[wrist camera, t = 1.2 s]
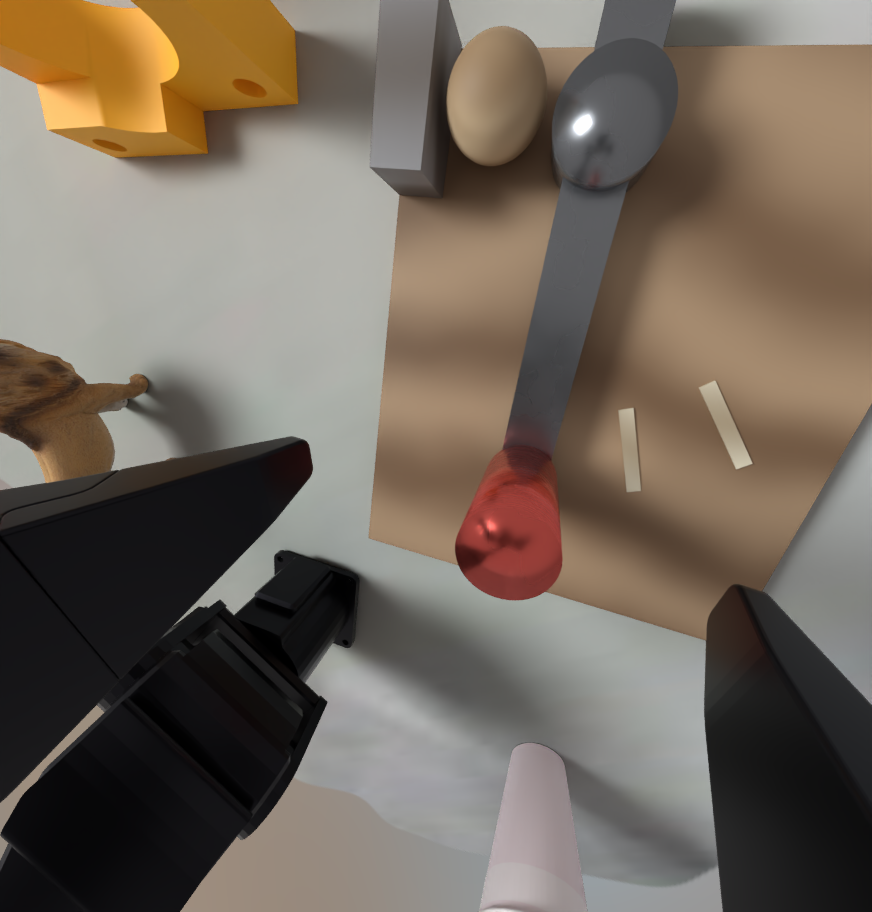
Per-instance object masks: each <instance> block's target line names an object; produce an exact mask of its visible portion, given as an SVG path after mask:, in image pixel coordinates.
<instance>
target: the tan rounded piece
mask: <svg viewBox="0 0 872 912" xmlns="http://www.w3.org/2000/svg"><path fill="white" fill-rule="evenodd" d="M546 101H547V76H546V70H545V66H544V62H543V59H542V57H541V54H540V52H539V50H538V48H537V47H536V46H535V44H534V43H533V41H532V40H531V39H530V38H529V37H528V36H527V35H526V34H524V33H523V32H521V31H519V30H517V29H515V28H511V27H507V26H498V27H493V28H489V29H487V30H485V31H483V32H481V33H480V34H478V35H477V36H475V37H474V38H473V39H472V40H471V41H470V42H469V43H468V44H467V45H466V46H465V48H464V49H463V50H462V52H461V53H460V55H459V56H458V58H457V60H456V62H455V64H454V67H453V69H452V72H451V75H450V78H449V82H448V87H447V94H446V114H447V121H448V125H449V129H450V132H451V135H452V137H453V140H454V141H455V143H456V145H457V147H458V148H459V149H460V151H461V152H462V153H463V154H464V155H465V156H466V157H467V158H469V159H470V160H471V161H473V162H475V163H477V164H480V165H484V166H498V165H502V164H505V163H507V162H509V161H512V160H513V159H515V158H516V157H517V156H519V155H520V154H521V153H522V152H523V151H524V150H525V149H526V148H527V147H528V145H529V144H530V143H531V141H532V140H533V138H534V137H535V135H536V133H537V131H538V129H539V127H540V124H541V121H542V119H543V116H544V112H545V108H546Z"/></svg>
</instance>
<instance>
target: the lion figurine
mask: <svg viewBox="0 0 872 912" xmlns="http://www.w3.org/2000/svg"><path fill="white" fill-rule="evenodd" d="M147 387H148V381H147V379H146V378H145V377H144V376H143V375H140V374H134V375H133V376H131V377H130V383H129V384H126V385H125V384H112V383H98V384H86V382H85V380H84V379H83V378H81V377H80V376H79V375H78V374H77V373H76V372H75V370H74V368H73V366H72V365H71V364H70V363H67V362H65V361H63V360H62V359H61V358H60V357H58V356H53V355H49V354H46V353H41V352H37V351H36V350H34V349H32V348H29V347H26V346H24V345H22V344H20V343H17V342H13V341H10V340H3V339H0V432H1V433H4V434H7V435H8V436H10V437H11V438H14V439H16V440H19V441H21V442H23V443H24V444H26V445H27V446H28V447H29V448H30V449H32V451H33V453H34V454H35V456H36V458H37V460H38V462H39V464H40V466H41V469H42V471H43V474H44V477H45V482H46V483H49V482H55V481H61V480H67V479H72V478H78V477H83V476H88V475H94V474H99V473H104V472H109V471H111V468H112V465H113V462H114V456H115V450H114V443H113V440H112V437H111V435H110V433H109V431H108V429H107V427H106V425H105V424H104V422H103V420H102V419H101V417H100V416H99V414H98V413H102V412H107V411H119V410H121V408H123V407H125V406H126V405H127V403H128V401H127V399H129V398H135V397H137V396H139V395H141V394H142V393H144V392H145V391H146V390H147ZM172 459H177V458H170V459H167V460H172ZM167 460H166V461H167Z"/></svg>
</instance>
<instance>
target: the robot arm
mask: <svg viewBox="0 0 872 912" xmlns="http://www.w3.org/2000/svg"><path fill="white" fill-rule="evenodd" d="M312 471H313V465H312V459H311V453H310V447H309V444H308V443H307V441H305V440H303V439H300V438H297V437H292V436H291V437H285V438H280V439H275V440H270V441H264V442H259V443H254V444H249V445H244V446H239V447H234V448H228V449H223V450H218V451H213V452H208V453H203V454H197V455H192V456H187V457H182V458H177V459H172V460H167V461H161V462H156V463H151V464H146V465H141V466H136V467H130V468H125V469H121V470H120V471H119V470H115V471H109V472H104V473H99V474H94V475H88V476H83V477H78V478H72V479H67V480H61V481H55V482H49V483H43V484H37V485H31V486H24V487H18V488H11V489H5V490H0V802H1V801H3V800H4V799H5V798H6V797H7V796H8V795H9V794H10V793H11V792H12V791H13V790H14V789H15V788H16V787H17V786H18V785H19V784H20V783H21V782H22V781H23V780H24V779H25V778H26V777H27V776H28V775H29V774H30V773H31V772H32V771H33V770H34V769H35V768H36V767H37V766H38V765H39V764H40V763H41V762H42V760H43V759H44V758H46V756H47V755H48V754H49V753H50V752H51V751H52V750H53V749H54V748H55V747H56V746H57V745H58V744H59V743H60V742H61V741H62V740H63V739H64V738H65V737H66V736H67V735H68V734H69V733H70V732H71V731H72V730H73V729H74V728H75V727H76V726H77V725H78V724H79V723H80V721H81V720H82V719H83V718H84V717H85V716H86V715H87V714H88V713H89V712H90V711H91V710H92V709H93V708H94V707H95V706H96V705H97V706H98V707H100V708H101V709H102V710H103V711H104V712H105V713H104V714H103V715H102V716H101V717H99V718H98V719H97V720H96V721H95V722H94V723H93V724H92V725H91V726H90V727H89V728H88V729H87V730H86V731H85V732H83V733H82V734H81V735H80V736H79V737H78V738H77V739H76V740H75V741H74V742H73V743H72V744H71V745H70V746H69V747H68V748H66V750H64V751H63V752H62V753H61V754H60V755H59V756H58V757H57V758H56V759H55V760H54V761H53V762H52V763H51V764H49V765H48V767H47V768H46V769H45V770H44V771H43V772H42V774H41V776H40V777H39V779H38V781H37V782H36V783H35V784H34V785H32V786H31V787H30V788H29V789H28V790H27V791H26V792H25V793H24V794H23V796H22V797H21V798H20V800H19V802H18V803H17V805H16V807H15V809H14V810H13V812H12V814H11V815H10V818H9V819H8V821H7V822H6V824H5V826H4V828H3V829H2V832H1V837H2V838H3V839H4V840H6V841H7V842H8V845H7V847H6V850H5V852H4V854H3V856H2V858H1V860H0V912H180V911H181V910H182V908H183V907H184V905H185V904H186V903H187V901H188V900H189V898H190V897H191V895H192V894H193V893H194V891H195V890H196V888H197V887H198V885H199V884H200V883H201V881H202V880H203V879H204V877H205V876H206V875H207V874H208V872H209V871H210V870H211V869H212V867H213V866H214V865H215V864H216V862H217V861H218V860H219V859H220V857H221V856H222V855H223V853H224V852H225V851H226V850H227V848H228V847H229V846H230V845H231V843H232V842H233V841H234V840H235V838H236V837H238V838H239V839H240V840H243V839H245V838H247V837H248V836H249V835H251V834H252V833H253V832H254V831H255V830H256V829H257V828H258V826H259V825H260V824H261V823H262V822H263V821H264V819H265V818H266V817H267V815H268V814H269V813H270V812H271V811H272V809H273V808H274V806H275V805H276V804H277V802H278V801H279V799H280V798H281V796H282V795H283V793H284V792H285V790H286V788H287V787H288V785H289V783H290V782H291V780H292V778H293V777H294V775H295V773H296V771H297V769H298V767H299V765H300V762H301V760H302V758H303V756H304V754H305V751H306V749H307V747H308V745H309V742H310V740H311V738H312V736H313V734H314V731H315V729H316V727H317V725H318V723H319V720H320V718H321V716H322V714H323V711H324V709H325V707H326V705H327V701H326V700H325V699H324V698H323V697H322V696H318V695H317V694H316V693H315V692H314V691H313V690H312V689H311V688H310V687H309V686H308V685H307V684H305V682H306V681H307V679H308V678H309V676H310V675H311V674H312V672H313V671H314V669H315V668H316V666H317V665H318V663H319V662H320V661H321V659H322V658H323V656H324V655H325V653H326V652H327V650H328V649H329V647H330V646H331V645H332V643H335V644H337V645H340V646H343V647H345V648H350V647H351V646H352V644H353V642H354V637H355V625H356V613H357V601H358V589H359V578H358V576H357V575H356V574H354V573H351V572H348V571H345V570H342V569H339V568H336V567H333V566H330V565H327V564H324V563H321V562H318V561H315V560H312V559H309V558H305V557H302V556H299V555H296V554H293V553H290V552H287V551H284V550H280V551H279V552H278V553H276V554H275V556H274V566H275V576H274V577H273V578H271V579H270V580H269V581H268V582H267V583H266V584H265V585H264V586H262V587H261V588H260V589H259V590H258V591H257V592H256V593H255V596H254V597H253V598H252V599H251V600H250V601H249V602H248V603H247V604H246V605H244V606H243V607H242V608H241V609H240V610H239V611H238V612H237V613H236V614H235V615H233V614H232V613H231V612H230V611H229V610H228V609H227V608H226V605H225V604H224V603H223V602H222V601H221V600H219V601H217V602H216V603H214V604H213V605H212V606H210V607H209V608H207V607H204V608H203V607H198V608H196V609H195V610H194V611H193V612H191V613H190V614H189V615H187V616H186V617H185V618H184V619H182V620H181V621H180V622H178V623H177V624H176V625H174V624H175V623H176V622H177V621H178V620H179V619H180V618H181V617H182V616H183V615H184V614H185V613H186V612H187V611H188V610H189V609H190V608H191V607H192V606H193V605H194V604H195V603H196V602H197V601H198V600H199V599H200V598H201V596H202V595H203V594H204V593H205V592H206V591H207V590H208V589H209V588H210V587H211V586H212V585H213V584H214V583H215V582H216V581H217V580H218V579H219V578H220V577H221V576H222V575H223V574H224V573H225V572H226V571H227V570H228V569H229V568H230V567H231V566H232V565H233V564H234V563H235V562H236V560H237V559H238V558H239V557H240V556H241V555H242V554H243V553H244V552H245V551H246V550H247V549H248V548H249V547H250V546H251V545H252V544H253V543H254V542H255V541H256V540H257V539H258V538H259V537H260V536H261V535H262V534H263V533H264V532H265V531H266V530H267V529H268V528H269V526H270V525H271V524H272V523H273V522H274V521H275V520H276V519H277V517H278V516H279V515H280V514H281V513H282V511H283V510H284V509H285V508H286V506H287V505H288V504H289V503H290V501H291V500H292V499H293V498H294V497H295V495H296V494H297V493H298V492H299V490H300V489H301V488H302V487H303V485H304V484H305V483H306V482H307V480H308V479H309V478H310V476H311V474H312ZM350 580H352V581H350ZM173 625H174V626H173ZM172 626H173V627H172ZM704 717H705V732H706V742H707V753H708V763H709V773H710V784H711V794H712V804H713V815H714V825H715V836H716V846H717V856H718V867H719V877H720V887H721V897H722V908H723V912H872V705H871V704H870V703H869V702H868V700H867V699H866V698H865V697H864V696H863V695H862V694H861V693H860V692H859V691H858V690H857V689H856V688H855V687H854V686H853V684H852V683H851V682H850V681H849V680H848V679H847V678H846V677H845V676H844V675H843V674H842V673H841V672H840V671H839V670H838V669H837V667H836V666H835V665H834V664H833V663H832V662H831V661H830V660H829V659H828V658H827V657H826V656H825V655H824V654H823V653H822V651H821V650H820V649H819V648H818V647H817V646H816V645H815V644H814V643H813V642H812V641H811V640H810V639H809V638H808V637H807V635H806V634H805V633H804V632H803V631H802V630H801V629H800V628H799V627H798V626H797V625H796V624H795V623H794V622H793V621H792V619H791V618H790V617H789V616H788V615H787V614H786V613H785V612H784V611H783V610H782V609H781V608H780V607H779V606H778V605H777V603H776V602H775V601H774V600H773V599H772V598H771V597H770V596H769V595H768V594H766V593H765V592H762V591H760V590H757V589H754V588H751V587H748V586H745V585H742V584H733V585H731V586H730V587H729V588H728V589H727V591H726V592H725V593H724V595H723V596H722V597H721V599H720V600H719V601H718V603H717V604H716V605H715V607H714V608H713V609H712V611H711V612H710V614H709V617H708V620H707V629H706V662H705V694H704Z"/></svg>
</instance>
